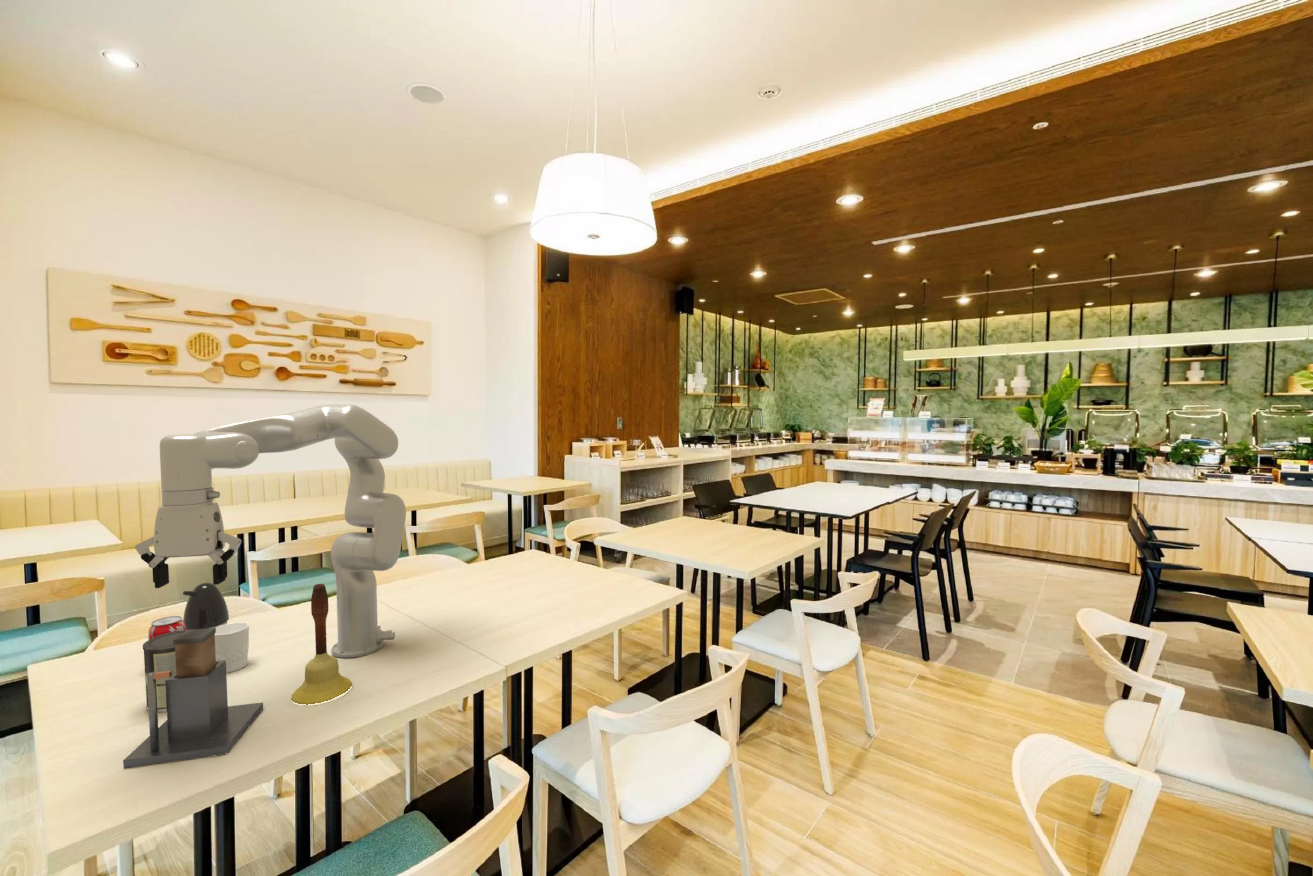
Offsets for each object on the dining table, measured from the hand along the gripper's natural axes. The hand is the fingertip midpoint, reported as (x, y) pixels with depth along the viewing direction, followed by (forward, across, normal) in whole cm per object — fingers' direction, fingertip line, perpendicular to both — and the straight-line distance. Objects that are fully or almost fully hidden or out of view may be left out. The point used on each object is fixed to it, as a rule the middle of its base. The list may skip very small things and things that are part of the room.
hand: (191, 584), depth 108 cm
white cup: (+31, +8, -31) cm, 44 cm away
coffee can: (+31, +12, -16) cm, 37 cm away
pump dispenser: (+31, +25, -55) cm, 67 cm away
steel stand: (+31, -1, +1) cm, 31 cm away
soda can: (+31, +23, -35) cm, 52 cm away
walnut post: (+29, -1, +1) cm, 29 cm away
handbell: (+31, -18, -13) cm, 38 cm away
